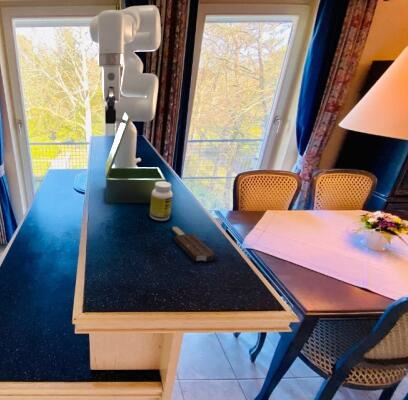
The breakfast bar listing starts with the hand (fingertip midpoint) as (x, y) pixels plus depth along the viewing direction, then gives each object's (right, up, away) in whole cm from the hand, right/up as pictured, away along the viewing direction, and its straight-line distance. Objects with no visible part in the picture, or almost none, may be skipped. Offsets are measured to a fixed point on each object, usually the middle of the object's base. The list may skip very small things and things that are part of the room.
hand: (110, 120), depth 86 cm
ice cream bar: (+20, -38, -17) cm, 46 cm away
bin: (+9, -24, +11) cm, 28 cm away
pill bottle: (+15, -31, -3) cm, 35 cm away
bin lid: (+3, -7, +3) cm, 8 cm away
